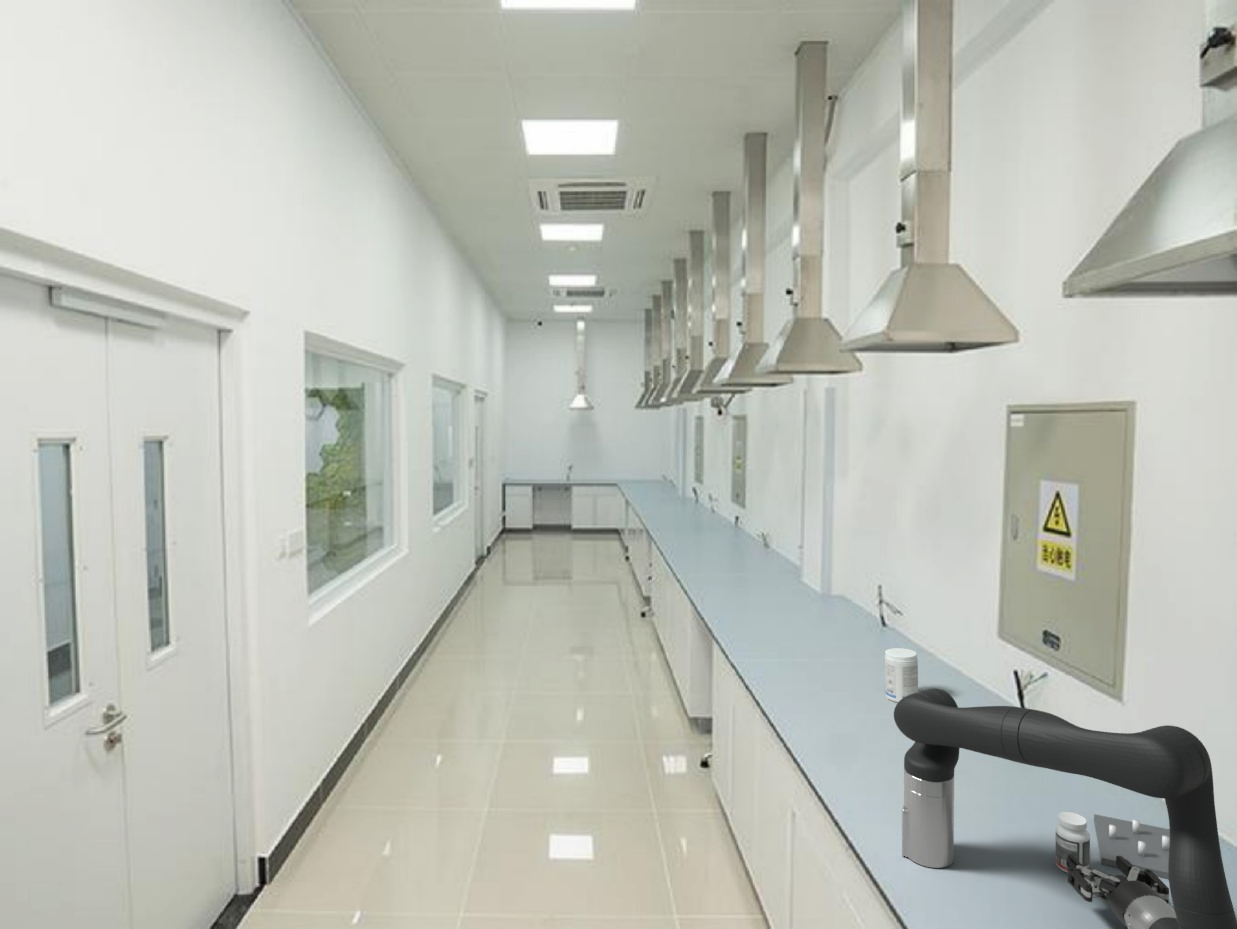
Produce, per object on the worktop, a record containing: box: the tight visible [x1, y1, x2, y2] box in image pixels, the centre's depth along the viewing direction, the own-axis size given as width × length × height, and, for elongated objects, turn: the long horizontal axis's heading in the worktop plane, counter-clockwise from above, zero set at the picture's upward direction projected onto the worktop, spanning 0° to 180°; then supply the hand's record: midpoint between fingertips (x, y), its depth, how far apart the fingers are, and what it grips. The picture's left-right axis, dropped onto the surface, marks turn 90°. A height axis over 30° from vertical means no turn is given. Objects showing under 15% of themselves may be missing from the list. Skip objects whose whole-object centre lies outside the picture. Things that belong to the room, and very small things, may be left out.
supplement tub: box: [884, 647, 919, 704], centre depth 231 cm, size 10×10×15 cm
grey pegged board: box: [1093, 813, 1170, 880], centre depth 149 cm, size 14×18×4 cm
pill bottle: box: [1054, 811, 1091, 876], centre depth 143 cm, size 6×6×10 cm
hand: (1093, 859), depth 136 cm, fingers open, 8 cm apart
